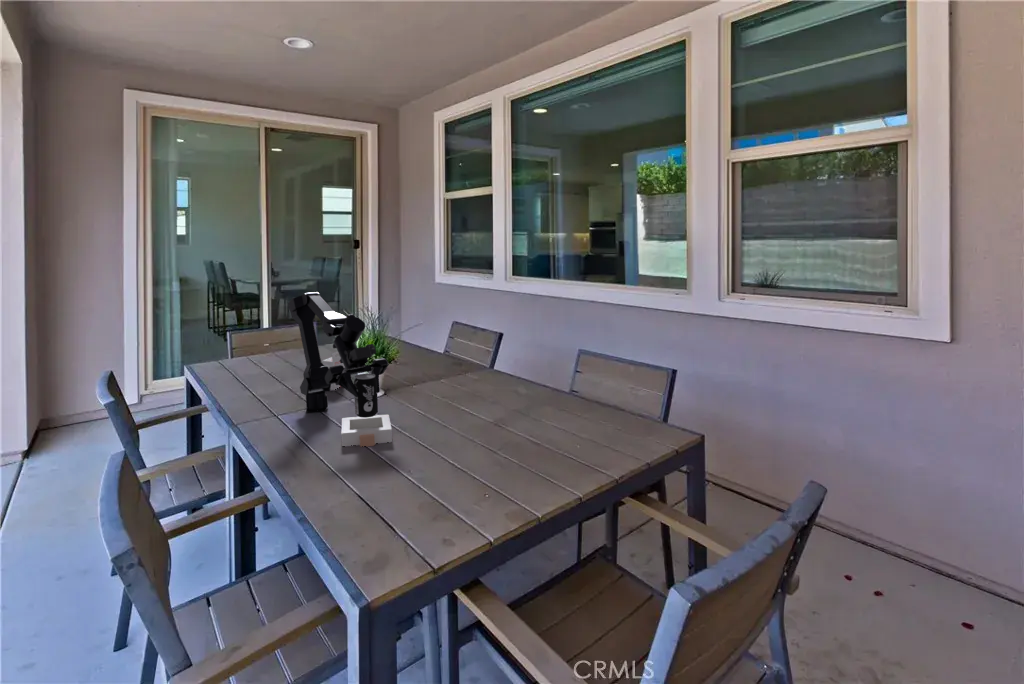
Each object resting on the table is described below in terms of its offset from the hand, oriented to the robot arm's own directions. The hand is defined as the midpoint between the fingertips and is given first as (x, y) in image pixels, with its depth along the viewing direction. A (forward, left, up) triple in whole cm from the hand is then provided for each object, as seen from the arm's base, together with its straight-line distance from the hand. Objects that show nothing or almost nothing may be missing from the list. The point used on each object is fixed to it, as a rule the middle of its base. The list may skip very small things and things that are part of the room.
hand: (368, 394), depth 163 cm
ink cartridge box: (-12, +60, -13) cm, 63 cm away
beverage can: (-1, +1, -7) cm, 7 cm away
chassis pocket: (-1, +1, -13) cm, 13 cm away
